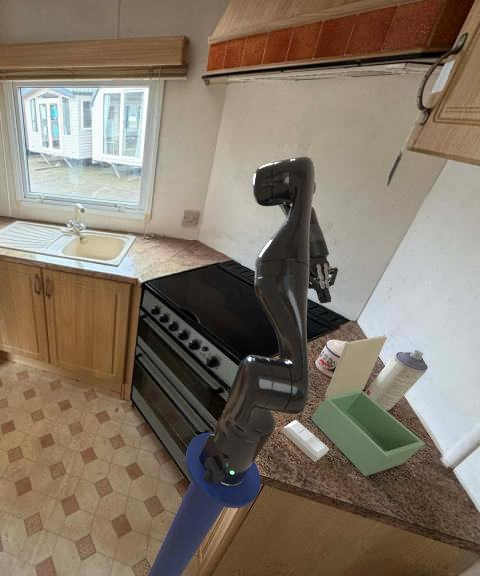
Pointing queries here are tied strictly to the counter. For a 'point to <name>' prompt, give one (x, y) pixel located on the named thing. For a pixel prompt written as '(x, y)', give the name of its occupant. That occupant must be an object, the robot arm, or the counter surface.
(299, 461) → the counter surface
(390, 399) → the aerosol can
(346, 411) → the container
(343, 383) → the lid
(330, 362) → the teacup with lid
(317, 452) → the white light switch
